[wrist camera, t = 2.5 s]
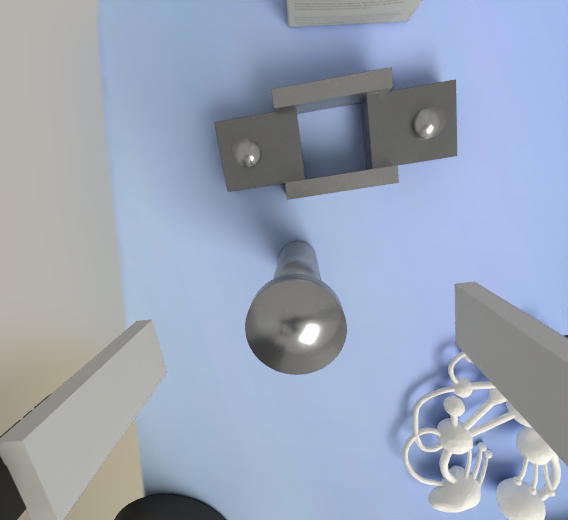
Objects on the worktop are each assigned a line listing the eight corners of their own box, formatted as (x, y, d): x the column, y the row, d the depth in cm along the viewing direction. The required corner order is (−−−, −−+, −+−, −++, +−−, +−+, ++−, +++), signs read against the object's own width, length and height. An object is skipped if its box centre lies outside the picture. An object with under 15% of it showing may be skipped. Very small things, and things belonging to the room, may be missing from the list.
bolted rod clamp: (236, 205, 26) (227, 208, 23) (218, 110, 24) (206, 101, 21) (444, 173, 24) (464, 172, 21) (442, 70, 23) (463, 53, 20)
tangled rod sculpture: (426, 304, 29) (442, 322, 25) (596, 329, 27) (642, 353, 23) (388, 473, 33) (396, 512, 29) (532, 503, 31) (561, 548, 27)
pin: (275, 287, 27) (254, 379, 15) (267, 236, 26) (236, 288, 14) (327, 280, 27) (351, 369, 14) (321, 229, 26) (340, 275, 13)
